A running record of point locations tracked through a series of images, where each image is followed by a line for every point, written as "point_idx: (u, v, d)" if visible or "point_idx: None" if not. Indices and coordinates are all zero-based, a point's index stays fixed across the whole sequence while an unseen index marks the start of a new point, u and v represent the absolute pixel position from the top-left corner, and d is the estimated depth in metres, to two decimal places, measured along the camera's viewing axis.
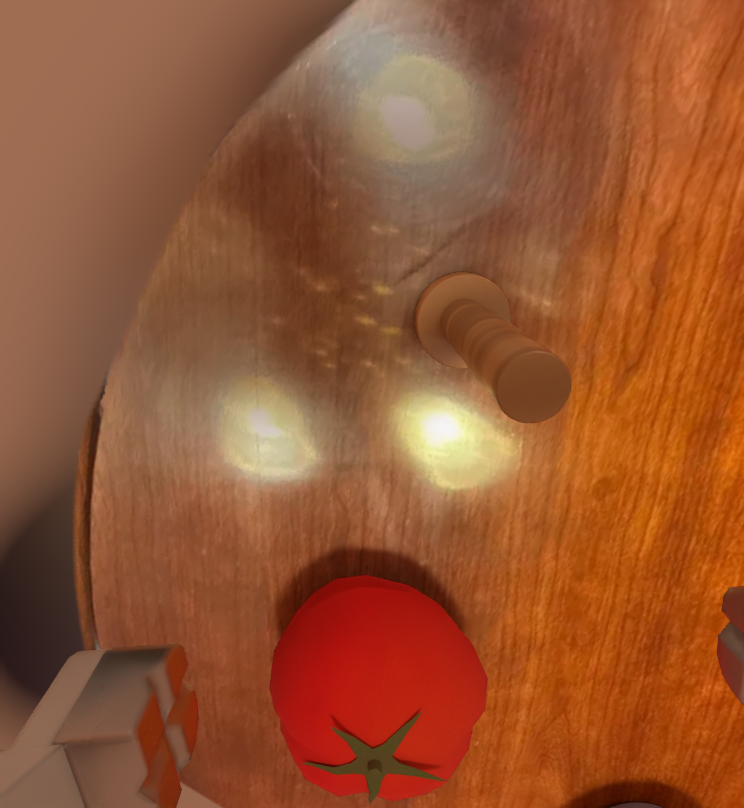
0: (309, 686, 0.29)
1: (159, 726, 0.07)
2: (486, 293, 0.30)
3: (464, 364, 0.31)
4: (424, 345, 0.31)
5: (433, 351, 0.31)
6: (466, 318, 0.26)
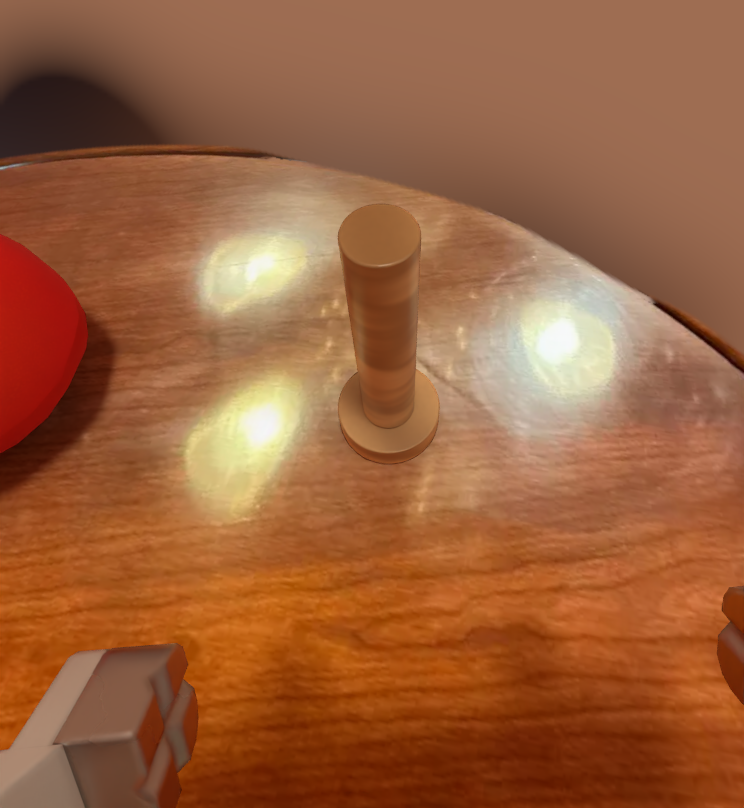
0: None
1: (159, 726, 0.07)
2: (423, 420, 0.28)
3: (343, 414, 0.28)
4: (358, 372, 0.29)
5: (353, 382, 0.29)
6: None
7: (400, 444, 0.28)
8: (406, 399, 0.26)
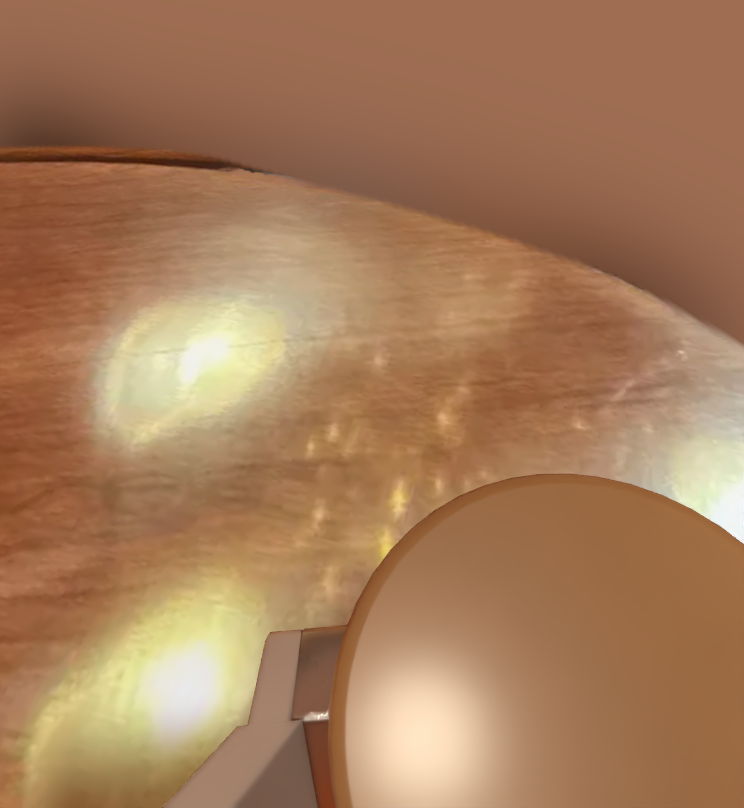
0: None
1: None
2: None
3: None
4: None
5: None
6: None
7: None
8: None
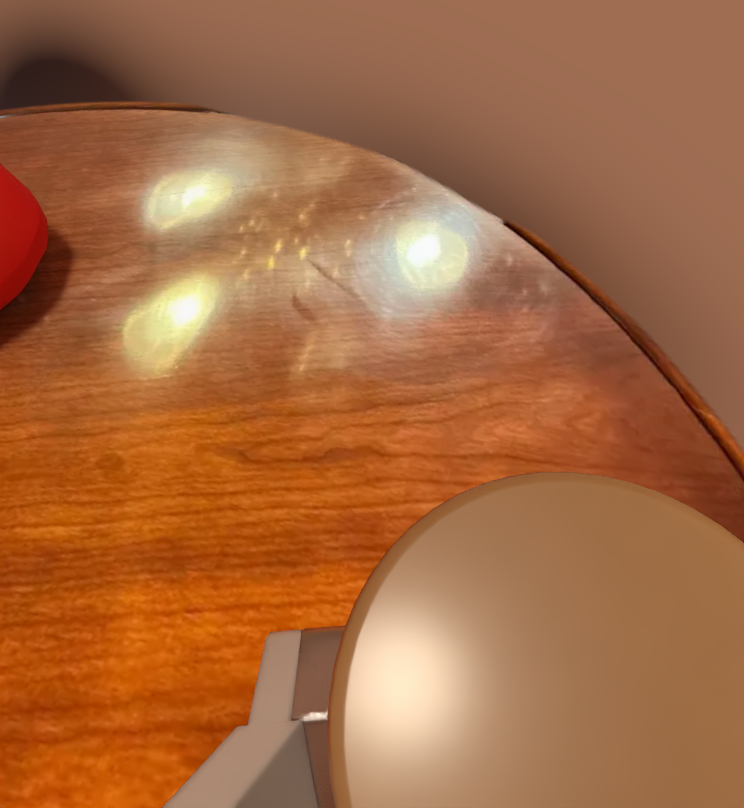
0: None
1: None
2: None
3: None
4: None
5: None
6: None
7: None
8: None
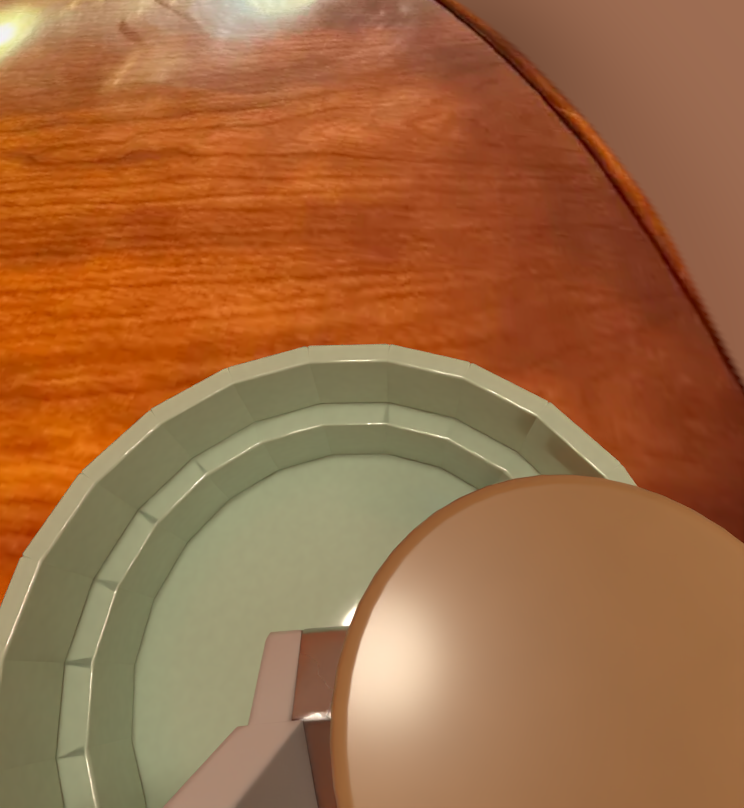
0: None
1: None
2: None
3: None
4: None
5: None
6: None
7: None
8: None
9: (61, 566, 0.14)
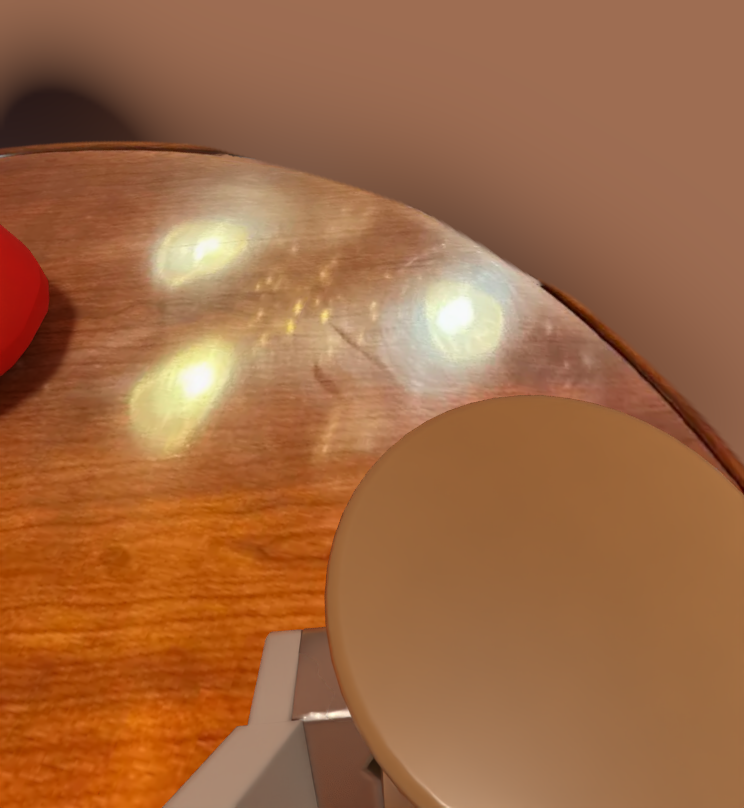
0: None
1: None
2: None
3: None
4: None
5: None
6: None
7: None
8: None
9: None
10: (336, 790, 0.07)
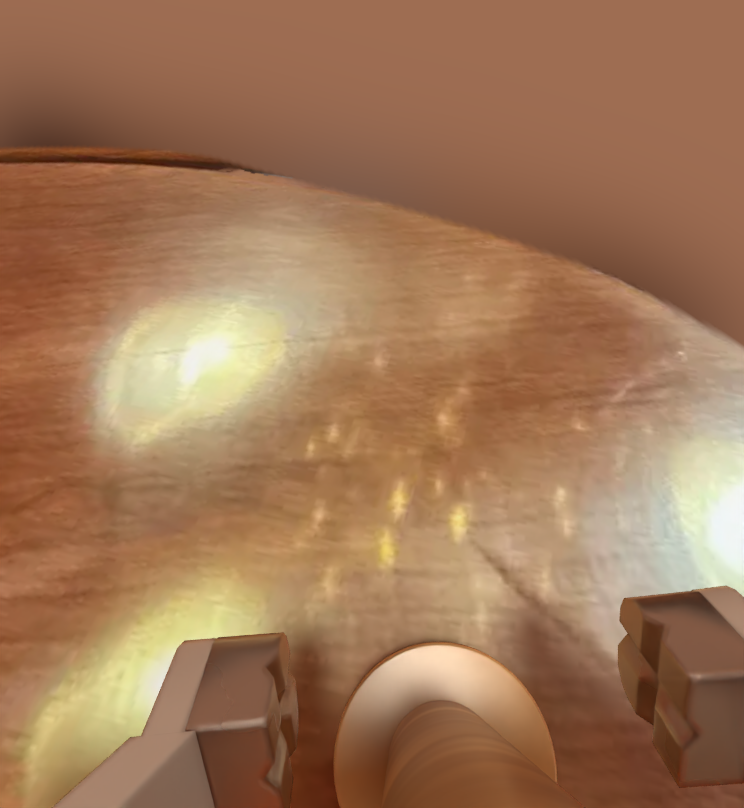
0: None
1: (279, 714, 0.07)
2: None
3: (343, 763, 0.13)
4: (392, 658, 0.14)
5: (378, 681, 0.14)
6: None
7: None
8: None
9: None
10: (236, 800, 0.07)
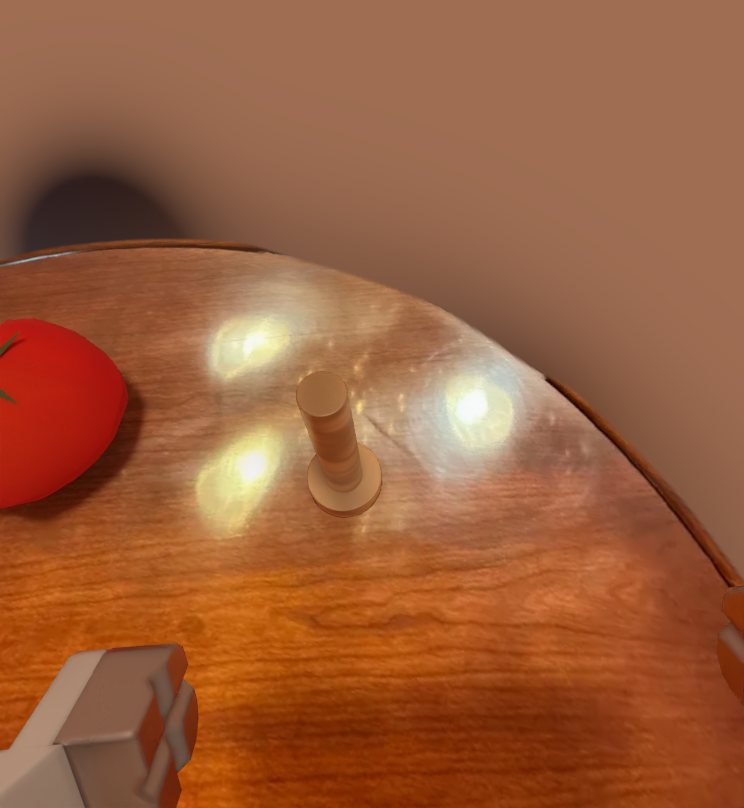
0: (51, 330, 0.37)
1: (159, 726, 0.07)
2: (365, 490, 0.38)
3: (310, 475, 0.39)
4: None
5: None
6: None
7: (345, 505, 0.38)
8: (350, 477, 0.36)
9: None
10: None
